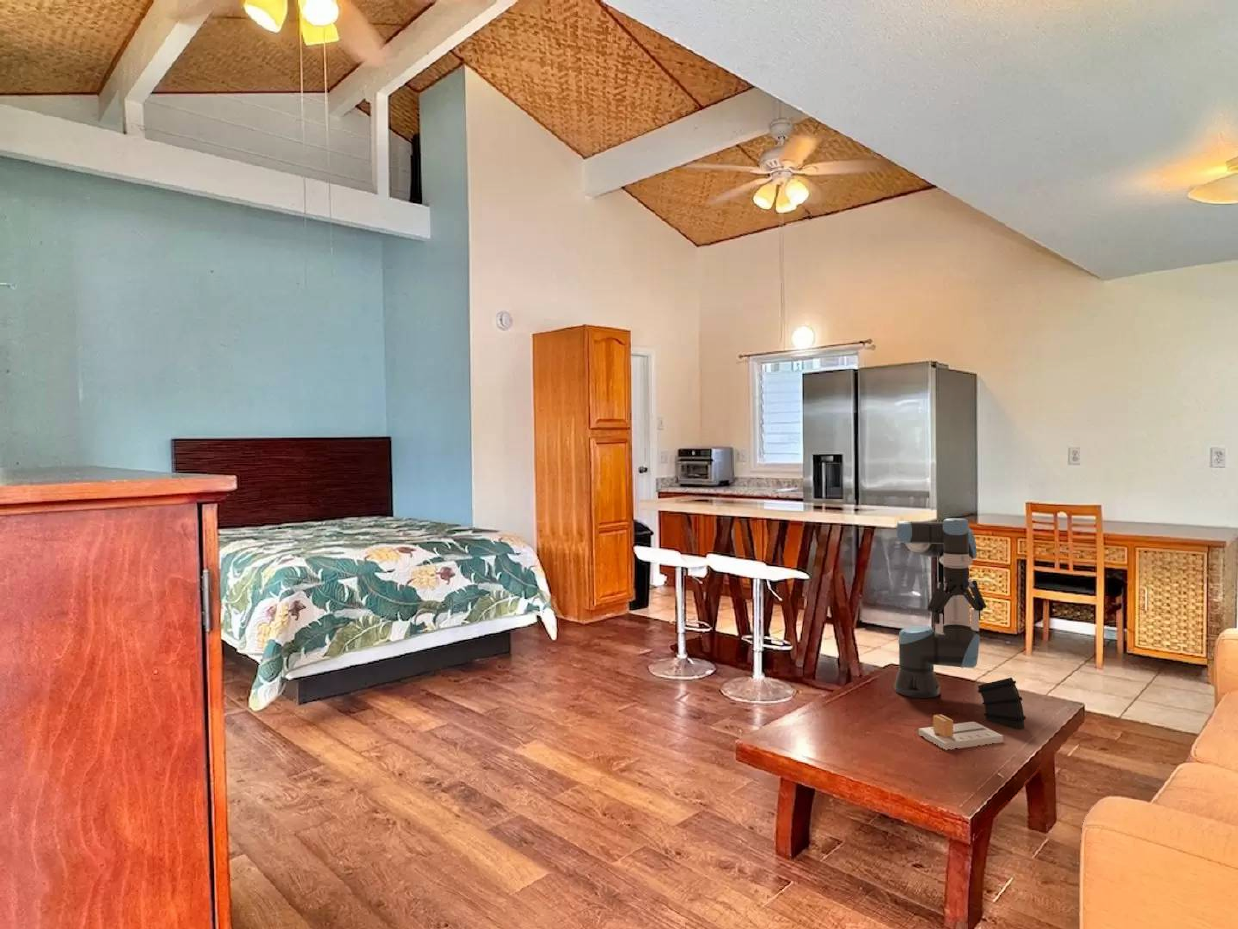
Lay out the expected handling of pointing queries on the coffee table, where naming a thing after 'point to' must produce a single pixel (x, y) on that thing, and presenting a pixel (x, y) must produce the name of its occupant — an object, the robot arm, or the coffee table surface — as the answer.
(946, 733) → the fader tab
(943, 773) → the coffee table surface
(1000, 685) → the magazine
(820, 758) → the coffee table surface
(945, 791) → the coffee table surface
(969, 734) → the fader console
